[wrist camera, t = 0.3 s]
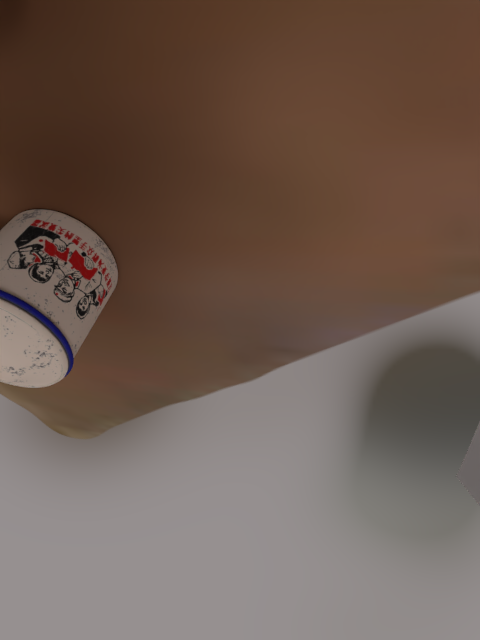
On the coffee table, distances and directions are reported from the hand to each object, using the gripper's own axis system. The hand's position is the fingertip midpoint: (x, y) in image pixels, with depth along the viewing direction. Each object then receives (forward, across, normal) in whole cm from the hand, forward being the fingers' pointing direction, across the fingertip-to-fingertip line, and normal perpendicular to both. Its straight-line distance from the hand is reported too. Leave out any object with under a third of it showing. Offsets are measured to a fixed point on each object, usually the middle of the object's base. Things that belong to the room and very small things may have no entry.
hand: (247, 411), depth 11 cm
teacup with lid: (+23, -13, -2) cm, 26 cm away
